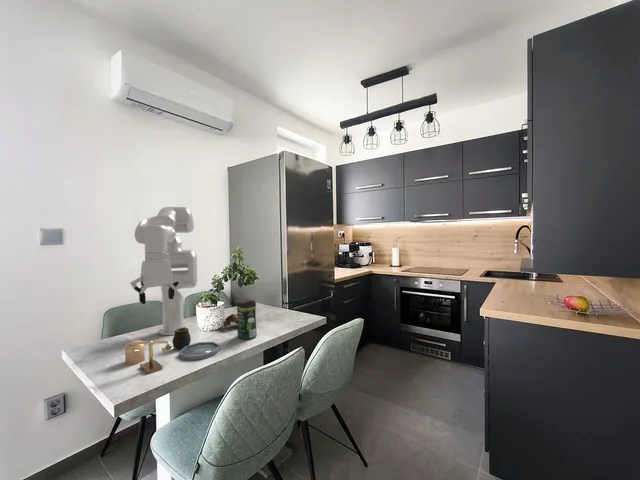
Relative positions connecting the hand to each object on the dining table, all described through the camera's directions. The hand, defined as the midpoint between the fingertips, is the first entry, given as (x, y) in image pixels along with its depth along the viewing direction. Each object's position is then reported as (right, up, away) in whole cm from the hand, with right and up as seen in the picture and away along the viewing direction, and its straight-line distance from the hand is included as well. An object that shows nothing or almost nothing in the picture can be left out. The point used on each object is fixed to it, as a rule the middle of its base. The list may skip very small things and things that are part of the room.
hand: (157, 301), depth 108 cm
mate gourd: (+2, -24, +16) cm, 29 cm away
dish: (+12, -24, +10) cm, 28 cm away
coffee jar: (+27, -24, +28) cm, 46 cm away
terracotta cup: (-10, -24, +2) cm, 26 cm away
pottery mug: (+17, -24, +43) cm, 52 cm away
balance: (0, -24, -4) cm, 25 cm away
